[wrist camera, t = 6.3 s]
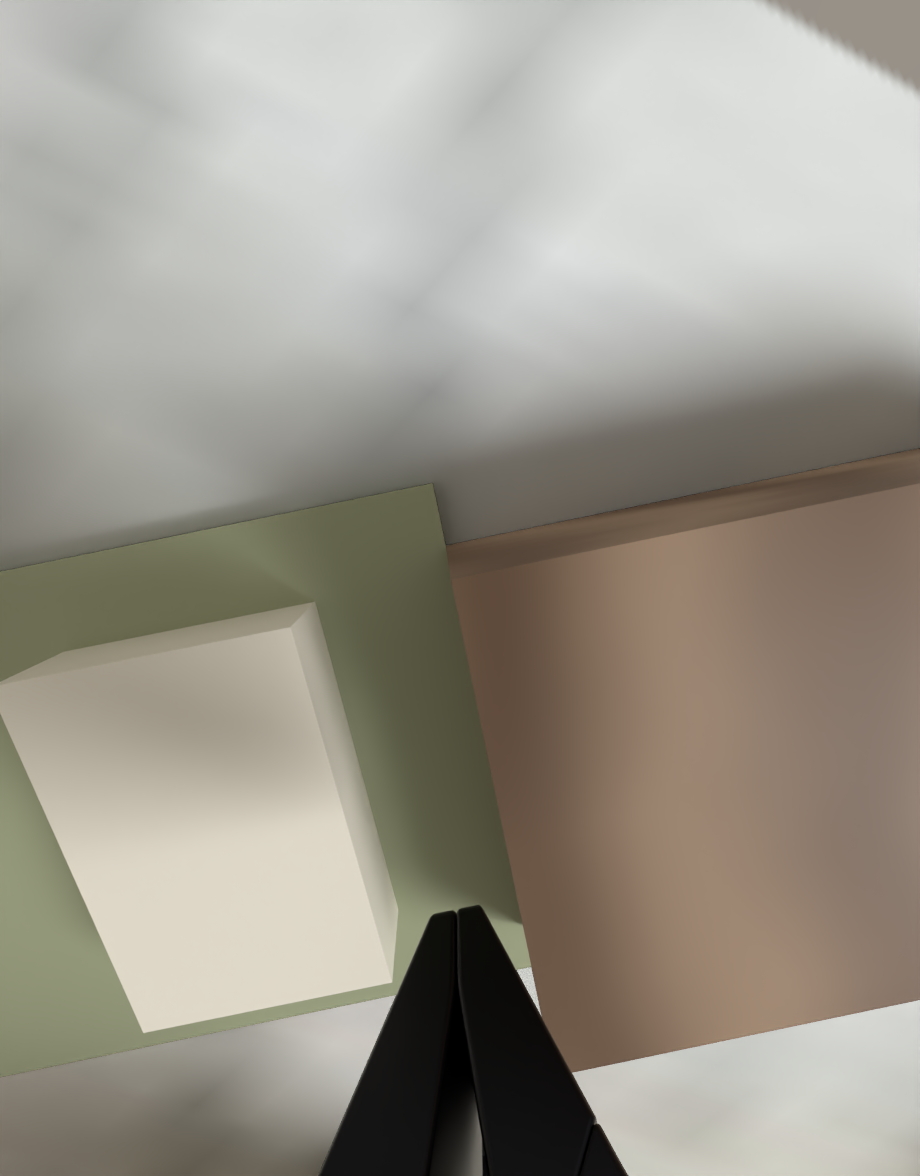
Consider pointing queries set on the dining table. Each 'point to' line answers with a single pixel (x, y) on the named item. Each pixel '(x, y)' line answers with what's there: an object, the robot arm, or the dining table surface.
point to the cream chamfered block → (211, 814)
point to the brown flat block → (708, 755)
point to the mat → (374, 714)
